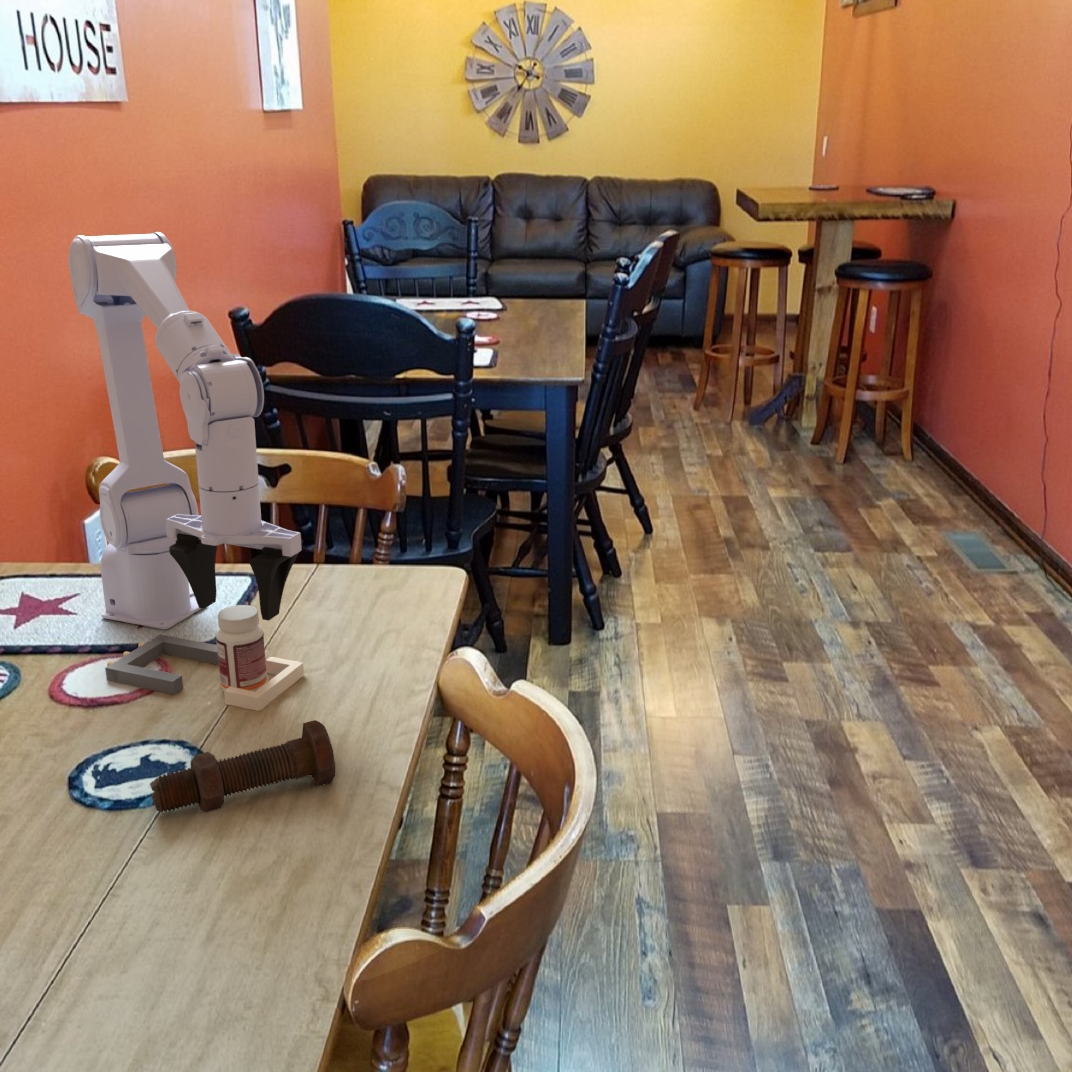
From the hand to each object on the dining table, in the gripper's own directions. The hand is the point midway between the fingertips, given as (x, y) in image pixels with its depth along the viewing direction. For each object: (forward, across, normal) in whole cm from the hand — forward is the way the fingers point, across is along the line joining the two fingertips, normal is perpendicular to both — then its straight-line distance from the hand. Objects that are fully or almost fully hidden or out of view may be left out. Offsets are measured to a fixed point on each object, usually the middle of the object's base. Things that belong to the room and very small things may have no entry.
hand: (238, 610), depth 114 cm
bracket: (+9, +3, 0) cm, 9 cm away
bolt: (+9, +12, -17) cm, 23 cm away
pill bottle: (+9, 0, 0) cm, 9 cm away
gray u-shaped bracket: (+9, -10, 0) cm, 13 cm away
